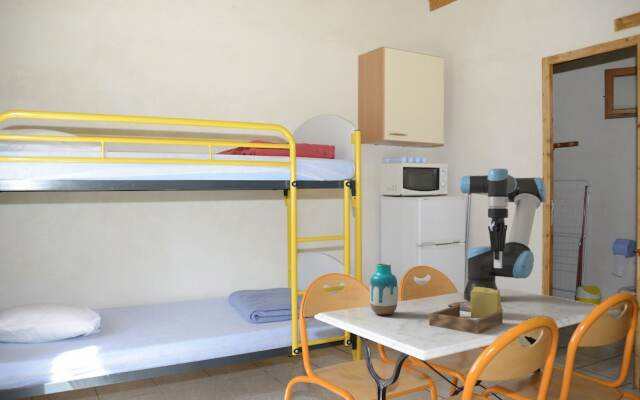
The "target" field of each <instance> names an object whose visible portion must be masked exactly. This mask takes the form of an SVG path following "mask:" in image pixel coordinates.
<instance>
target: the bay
mask: <svg viewBox="0 0 640 400" xmlns="http://www.w3.org/2000/svg"><path fill="white" fill-rule="evenodd" d="M453 304H454V306H449V307H446V308H443V309H440V310H436V311H433V312H431V313H428V314H429V316H428V317H429V318H428V320H429V322H428V323H429V326H433V327H439V328H445V329H449V330H454V331H460V332H465V333H470V334H471V333H472V334H476V335H477V334H480V333H483V332H485V331H488V330H490V329H493V328H495V327H497V326H500V325H502V324H503V322H504V321H503V308H502V309H501V308H497V312H496V313H493V314H490V315H488V316H485V317H482V318H477V319H471V318H464V317H461V302H457V301H456V302H454V303H453Z"/></svg>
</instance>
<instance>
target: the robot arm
mask: <svg viewBox="0 0 640 400" xmlns="http://www.w3.org/2000/svg"><path fill="white" fill-rule="evenodd" d="M459 189H460V190H459V191H460V192H461V193H462V194H468V195H469V194H476V195H481V196H487V207H488V209H487V217H488V218H489V219H491V221H490V225H488V227H487V229H488V234H489V241H490V245H486V246H476V247H475V246H474V247H470V248H469V249H468V250H467V258H466V259H467V283H466V284H465V288H464V291H463V299H464V300H465V301H466V300H467V301H470V302H471V291H472V290H473V289H474V287H484V288H491V289H494V290H499V289H498V287H497V283H496V277H499V278H513V279H527V278H529V276H530V275H531V273H532V271H533V269H534V262H535V256H534V253H533V252H532V251H531V248H530V247H529V244H530V241H531V239H530V238H531V235H532V230H533V225H534V220H535V216H536V210H537V209H539V207H540V206H541V205H542V204H541V203H546V202H547V190H546V189H547V188H546V184H545V180H544V179H543V178H541V177H536V176H533V177H514V176H513V175H511V174H509V170H508V168H490V169H488V171H487V175H486V174H485V175H464V176H462V177H461V178H460V180H459ZM509 203H514V205H515V210H514V214H513V216H512V217H513V218H512V222H511V226H510V231H509V235H508V238H507V230H508V224H505V222H506V221H505V219H507V218H508V217H509V209H508V207H509ZM506 238H507V242H506Z"/></svg>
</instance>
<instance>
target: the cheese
mask: <svg viewBox="0 0 640 400" xmlns="http://www.w3.org/2000/svg"><path fill="white" fill-rule="evenodd" d="M501 296H502V295H501V293H500V290H499V289H498V290H494V289H491V288H484V287H474V289H473V290H472V291H471V301H470V317H471V318H478V319H480V318H482V317H485V316H488V315H490V314H493V313H496V312H497V308H501V309H503V307H502V297H501Z"/></svg>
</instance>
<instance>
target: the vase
mask: <svg viewBox="0 0 640 400" xmlns="http://www.w3.org/2000/svg"><path fill="white" fill-rule="evenodd" d="M398 289H399V287H398V279H397V277H396V275H395V274H393V273H392V267H391V263H390V264H389V263H377V264H376V269H375V273H374V274H372V275H371V277H370V282H369V301H370V304H369V305H370V308H371V310H372V312H374V313H375V314H377V315H382V316H387V315H392V314H393V313H394V312H396V310H397V307H398V300H399V299H398V296H399V293H398V292H399V291H398Z"/></svg>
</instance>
